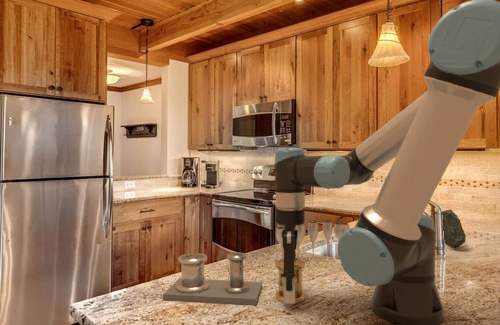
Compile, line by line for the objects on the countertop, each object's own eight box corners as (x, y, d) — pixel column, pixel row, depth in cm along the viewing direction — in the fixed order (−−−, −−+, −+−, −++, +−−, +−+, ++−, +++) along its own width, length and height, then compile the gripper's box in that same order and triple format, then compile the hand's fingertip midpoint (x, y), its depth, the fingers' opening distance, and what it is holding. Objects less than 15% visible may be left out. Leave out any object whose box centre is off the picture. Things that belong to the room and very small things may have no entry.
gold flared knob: (305, 292, 94) (305, 259, 94) (305, 304, 87) (305, 267, 86) (276, 291, 95) (276, 258, 95) (274, 302, 88) (274, 266, 88)
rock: (443, 249, 148) (433, 216, 152) (459, 247, 146) (448, 213, 151) (452, 247, 132) (441, 209, 136) (470, 244, 130) (458, 206, 135)
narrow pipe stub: (250, 285, 96) (250, 252, 96) (246, 294, 89) (246, 258, 89) (227, 284, 97) (227, 251, 96) (222, 292, 90) (221, 257, 90)
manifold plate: (262, 287, 98) (262, 282, 98) (256, 305, 86) (256, 299, 86) (179, 283, 102) (179, 278, 102) (163, 300, 90) (162, 294, 90)
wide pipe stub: (213, 281, 99) (213, 253, 98) (204, 294, 90) (204, 262, 90) (182, 280, 100) (182, 252, 100) (170, 292, 91) (170, 261, 91)
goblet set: (279, 265, 118) (279, 226, 118) (273, 260, 123) (273, 223, 123) (353, 258, 125) (353, 221, 125) (344, 254, 131) (344, 218, 131)
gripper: (278, 202, 102) (278, 278, 103) (271, 215, 80) (271, 312, 80) (304, 202, 101) (304, 279, 102) (304, 215, 79) (305, 314, 79)
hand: (290, 294), depth 91 cm, fingers open, 10 cm apart
